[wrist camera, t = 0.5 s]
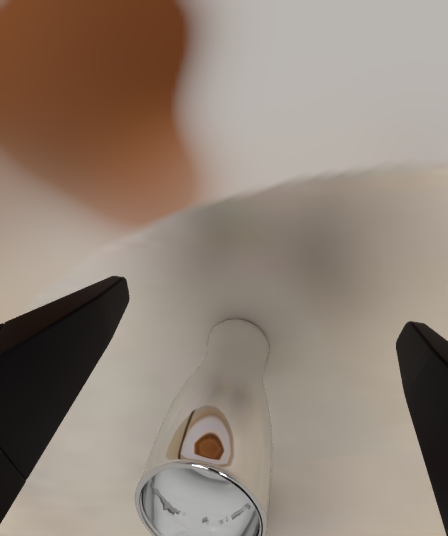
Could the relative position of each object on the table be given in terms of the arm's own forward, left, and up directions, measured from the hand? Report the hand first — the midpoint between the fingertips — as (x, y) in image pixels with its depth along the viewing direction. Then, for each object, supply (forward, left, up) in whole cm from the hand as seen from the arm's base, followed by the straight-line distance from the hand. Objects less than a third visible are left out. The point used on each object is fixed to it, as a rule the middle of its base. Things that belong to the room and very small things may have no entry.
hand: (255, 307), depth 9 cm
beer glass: (-10, -6, -16) cm, 20 cm away
